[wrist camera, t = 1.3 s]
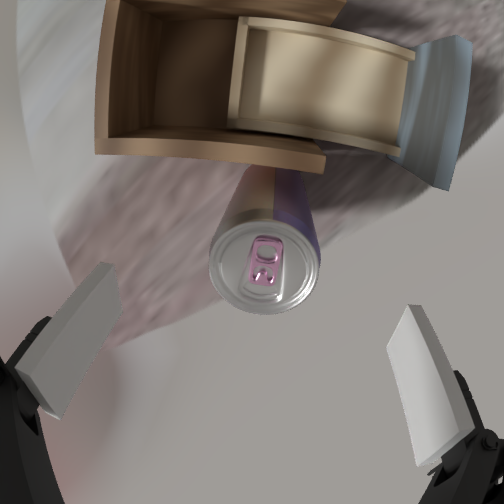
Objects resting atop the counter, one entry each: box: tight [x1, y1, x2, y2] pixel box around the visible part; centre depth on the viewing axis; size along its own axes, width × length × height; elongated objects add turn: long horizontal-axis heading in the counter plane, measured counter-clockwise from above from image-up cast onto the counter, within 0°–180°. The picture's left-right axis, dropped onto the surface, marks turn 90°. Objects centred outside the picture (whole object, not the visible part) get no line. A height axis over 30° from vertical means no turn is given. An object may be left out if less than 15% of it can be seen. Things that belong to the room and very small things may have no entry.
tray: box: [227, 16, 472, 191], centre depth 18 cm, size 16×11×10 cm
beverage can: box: [209, 164, 321, 315], centre depth 21 cm, size 6×6×15 cm
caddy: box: [95, 0, 347, 174], centre depth 19 cm, size 16×13×9 cm
